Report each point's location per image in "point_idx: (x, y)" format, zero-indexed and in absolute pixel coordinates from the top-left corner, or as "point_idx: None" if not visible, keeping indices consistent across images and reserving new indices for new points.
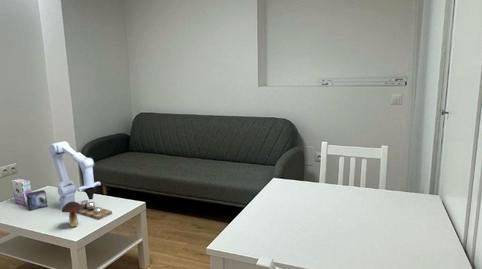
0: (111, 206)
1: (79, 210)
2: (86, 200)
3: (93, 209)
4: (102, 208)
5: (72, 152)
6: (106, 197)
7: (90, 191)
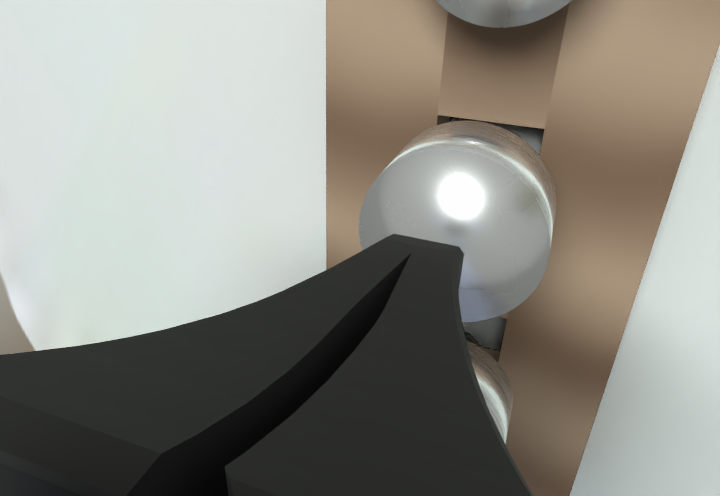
0: (144, 51)
1: (577, 371)
2: None
3: None
4: (327, 13)
5: None
6: None
7: (411, 456)
